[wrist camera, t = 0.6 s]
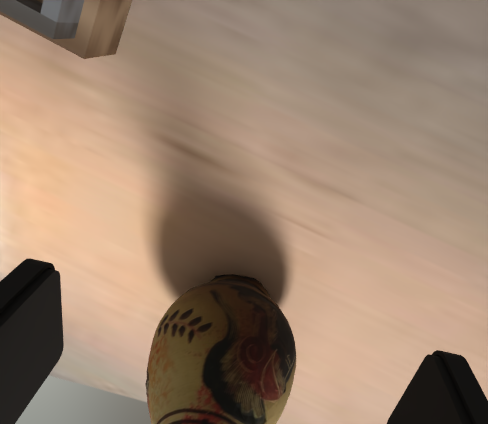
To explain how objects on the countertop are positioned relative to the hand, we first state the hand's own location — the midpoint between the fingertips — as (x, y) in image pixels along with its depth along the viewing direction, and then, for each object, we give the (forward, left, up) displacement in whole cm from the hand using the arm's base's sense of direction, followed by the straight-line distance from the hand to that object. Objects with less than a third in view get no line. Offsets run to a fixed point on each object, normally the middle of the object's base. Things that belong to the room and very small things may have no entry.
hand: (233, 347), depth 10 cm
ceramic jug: (+24, +8, -30) cm, 39 cm away
